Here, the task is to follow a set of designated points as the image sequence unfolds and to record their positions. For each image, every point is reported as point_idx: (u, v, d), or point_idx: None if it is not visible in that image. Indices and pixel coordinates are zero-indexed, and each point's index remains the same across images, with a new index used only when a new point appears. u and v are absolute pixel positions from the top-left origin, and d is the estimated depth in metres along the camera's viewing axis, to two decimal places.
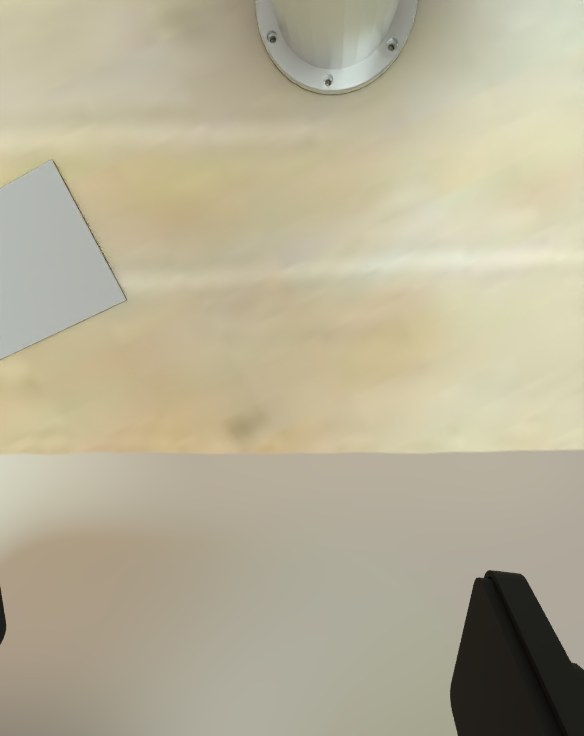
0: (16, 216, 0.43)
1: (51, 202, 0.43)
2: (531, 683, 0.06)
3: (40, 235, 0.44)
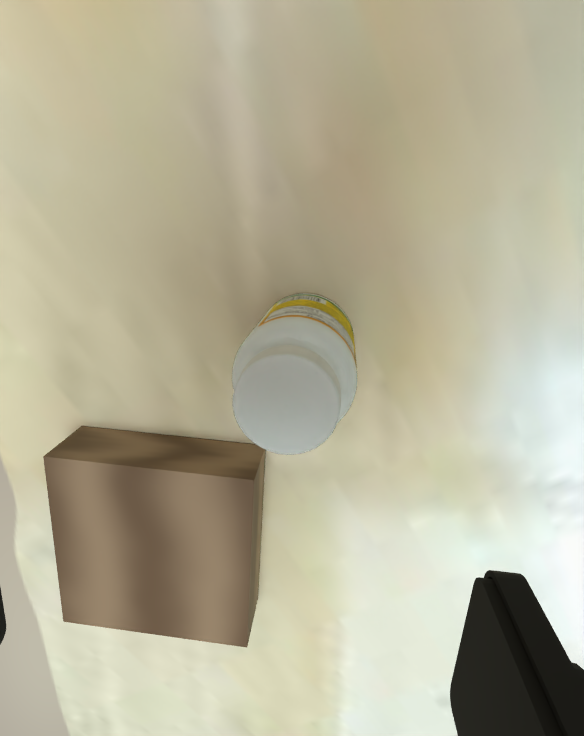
0: None
1: None
2: (531, 683, 0.06)
3: None
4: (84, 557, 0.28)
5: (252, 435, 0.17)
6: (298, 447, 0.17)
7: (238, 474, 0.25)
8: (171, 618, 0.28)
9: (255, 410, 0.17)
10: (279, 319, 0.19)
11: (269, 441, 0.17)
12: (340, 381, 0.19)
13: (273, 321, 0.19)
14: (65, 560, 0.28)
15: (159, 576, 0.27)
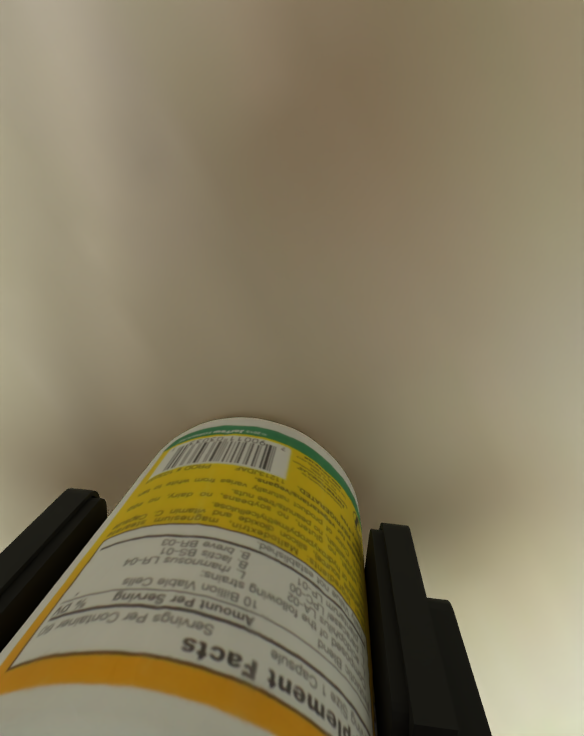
0: None
1: None
2: (386, 606, 0.07)
3: None
4: None
5: None
6: None
7: None
8: None
9: None
10: (42, 707, 0.04)
11: None
12: None
13: (14, 717, 0.04)
14: None
15: None
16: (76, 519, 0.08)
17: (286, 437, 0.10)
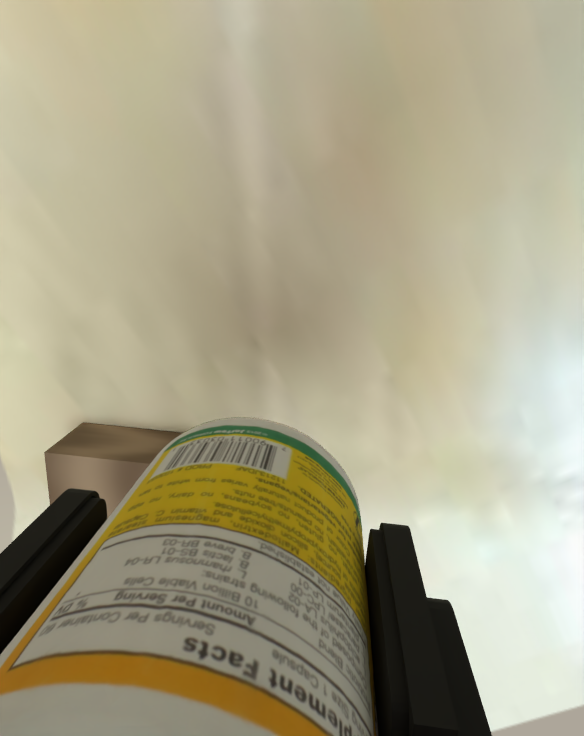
0: None
1: None
2: (386, 605, 0.07)
3: None
4: None
5: None
6: None
7: None
8: None
9: None
10: (44, 706, 0.04)
11: None
12: None
13: (16, 716, 0.04)
14: None
15: None
16: (76, 519, 0.08)
17: (287, 437, 0.10)
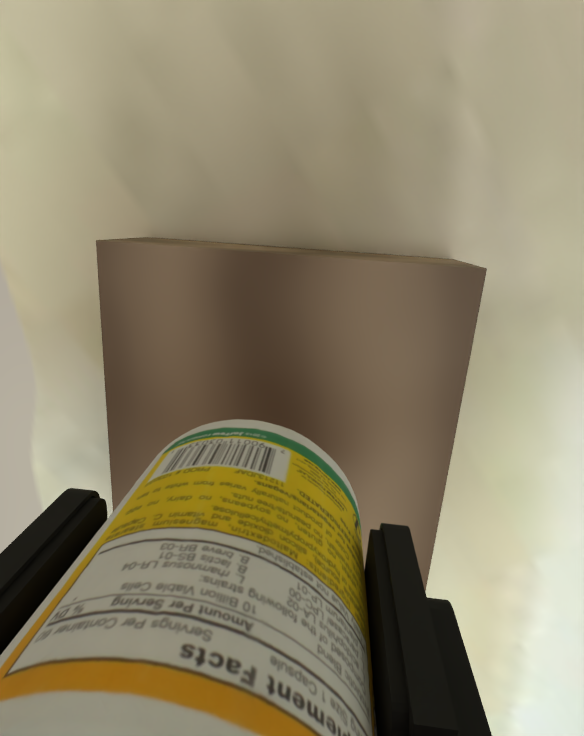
0: None
1: None
2: (386, 605, 0.07)
3: None
4: (157, 438, 0.16)
5: None
6: None
7: (450, 265, 0.14)
8: None
9: None
10: (39, 714, 0.04)
11: None
12: None
13: (10, 725, 0.04)
14: (125, 444, 0.16)
15: None
16: (76, 519, 0.08)
17: (286, 439, 0.10)
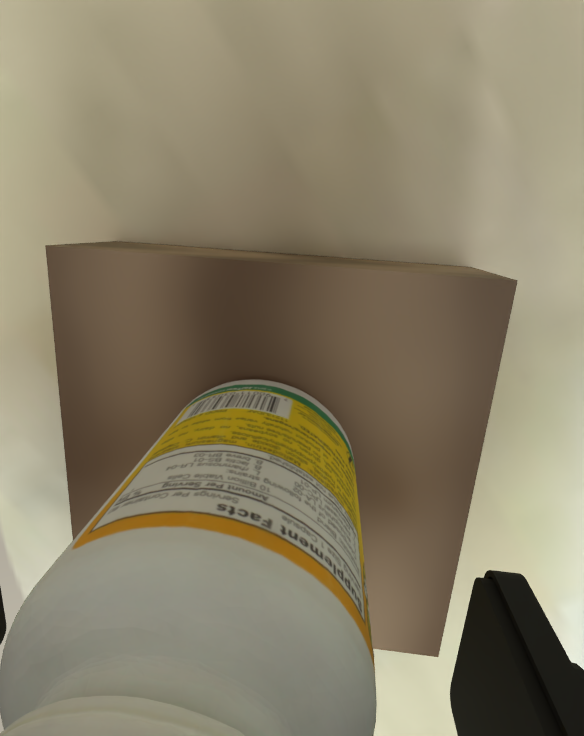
0: None
1: None
2: (531, 683, 0.06)
3: None
4: (124, 477, 0.14)
5: None
6: None
7: (472, 276, 0.12)
8: None
9: None
10: (122, 540, 0.06)
11: None
12: None
13: (103, 548, 0.06)
14: (86, 485, 0.14)
15: None
16: None
17: (288, 392, 0.11)
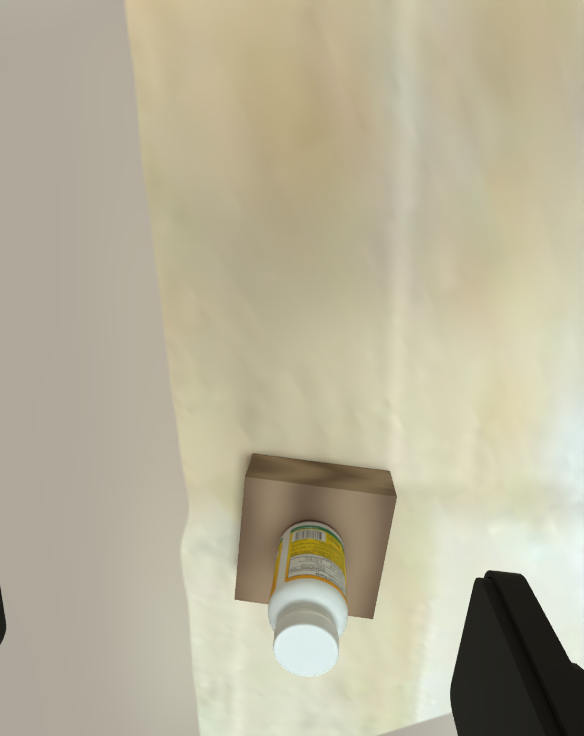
0: None
1: None
2: (531, 683, 0.06)
3: None
4: (260, 550, 0.38)
5: (285, 666, 0.28)
6: (313, 673, 0.28)
7: (383, 492, 0.36)
8: None
9: (287, 653, 0.28)
10: (298, 581, 0.30)
11: (295, 669, 0.29)
12: (337, 621, 0.30)
13: (295, 582, 0.30)
14: (245, 552, 0.38)
15: None
16: None
17: (323, 528, 0.36)
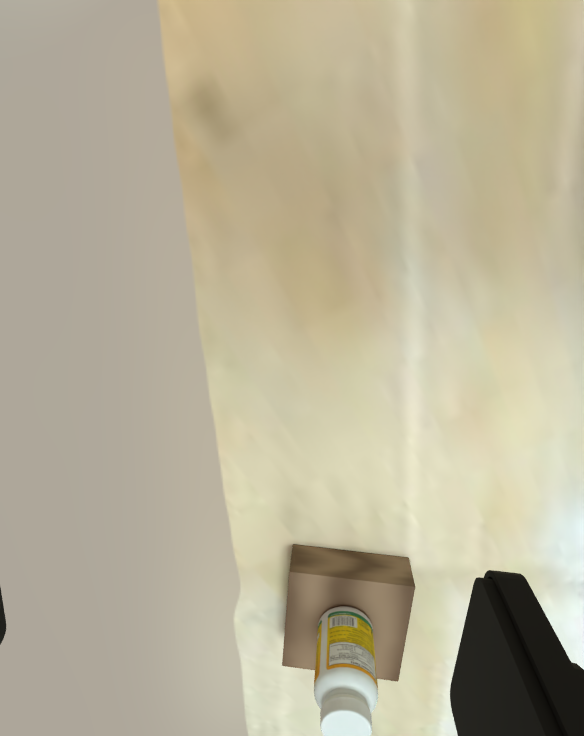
0: None
1: None
2: (531, 683, 0.06)
3: None
4: (303, 628, 0.46)
5: None
6: None
7: (404, 582, 0.44)
8: None
9: (331, 730, 0.36)
10: (337, 669, 0.38)
11: None
12: (370, 702, 0.38)
13: (335, 671, 0.38)
14: (291, 629, 0.46)
15: None
16: None
17: (355, 613, 0.44)
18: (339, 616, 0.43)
